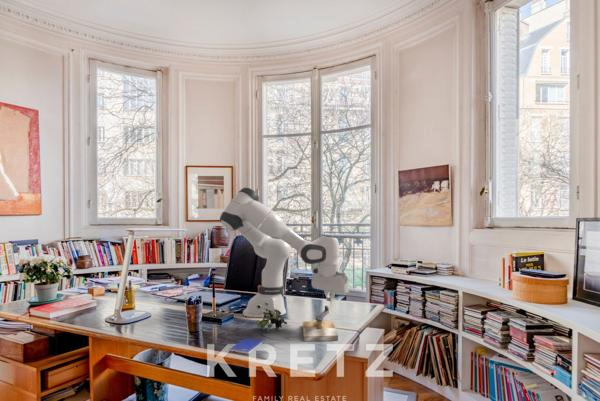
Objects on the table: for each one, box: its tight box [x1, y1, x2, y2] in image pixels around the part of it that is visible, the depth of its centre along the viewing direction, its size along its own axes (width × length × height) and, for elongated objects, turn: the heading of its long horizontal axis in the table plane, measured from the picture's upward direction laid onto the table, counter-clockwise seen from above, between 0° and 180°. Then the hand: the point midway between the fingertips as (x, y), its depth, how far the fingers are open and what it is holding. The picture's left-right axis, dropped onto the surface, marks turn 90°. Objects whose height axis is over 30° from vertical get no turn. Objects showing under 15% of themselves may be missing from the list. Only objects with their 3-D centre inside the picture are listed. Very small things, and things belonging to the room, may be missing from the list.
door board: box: [302, 319, 339, 342], centre depth 166 cm, size 14×21×6 cm, turn 2°
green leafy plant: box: [255, 309, 288, 333], centre depth 169 cm, size 11×11×12 cm
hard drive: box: [229, 338, 264, 355], centre depth 149 cm, size 2×8×12 cm
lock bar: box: [315, 305, 330, 321], centre depth 170 cm, size 13×3×3 cm, turn 158°
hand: (329, 300), depth 172 cm, fingers closed
